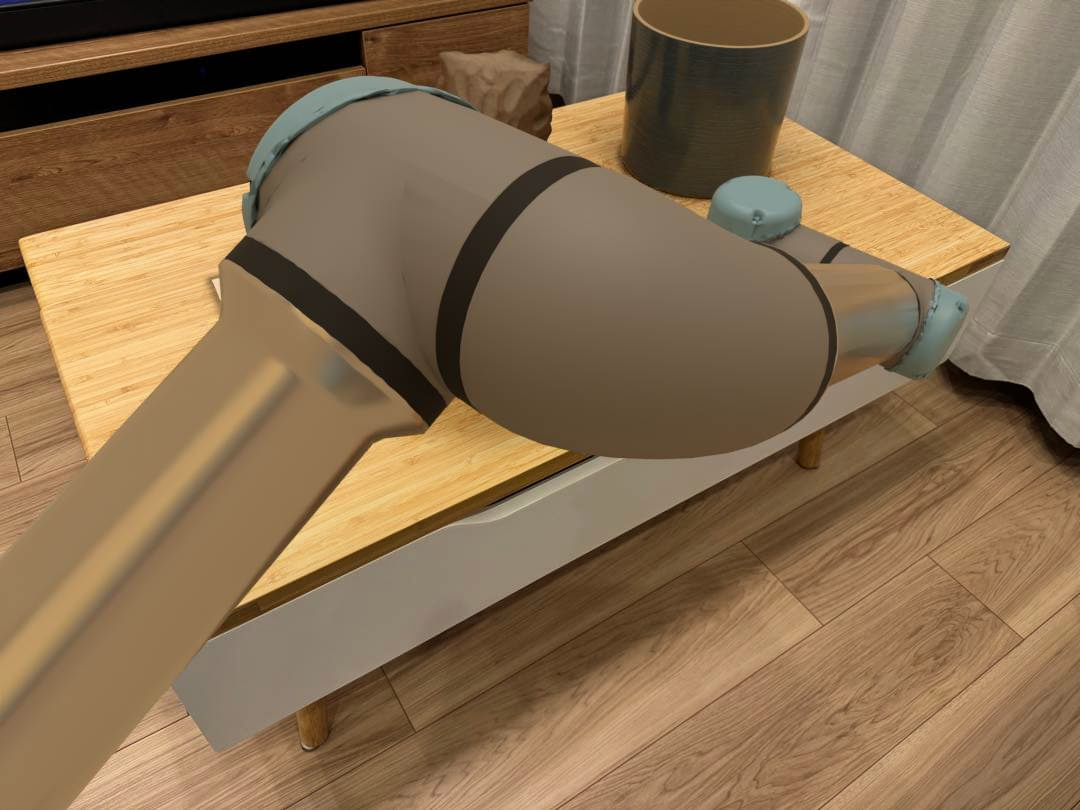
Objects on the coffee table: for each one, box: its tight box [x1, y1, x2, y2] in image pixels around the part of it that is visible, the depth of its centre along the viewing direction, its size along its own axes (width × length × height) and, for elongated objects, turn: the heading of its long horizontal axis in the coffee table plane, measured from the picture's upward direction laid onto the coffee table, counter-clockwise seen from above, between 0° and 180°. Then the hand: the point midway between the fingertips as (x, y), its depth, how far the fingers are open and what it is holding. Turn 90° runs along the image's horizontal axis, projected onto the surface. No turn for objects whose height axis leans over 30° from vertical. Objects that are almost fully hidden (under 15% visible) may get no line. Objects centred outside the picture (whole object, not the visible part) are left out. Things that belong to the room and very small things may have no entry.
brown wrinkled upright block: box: [434, 49, 554, 142], centre depth 94 cm, size 13×13×20 cm
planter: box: [620, 0, 811, 199], centre depth 105 cm, size 22×22×20 cm
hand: (407, 305), depth 77 cm, fingers open, 13 cm apart
